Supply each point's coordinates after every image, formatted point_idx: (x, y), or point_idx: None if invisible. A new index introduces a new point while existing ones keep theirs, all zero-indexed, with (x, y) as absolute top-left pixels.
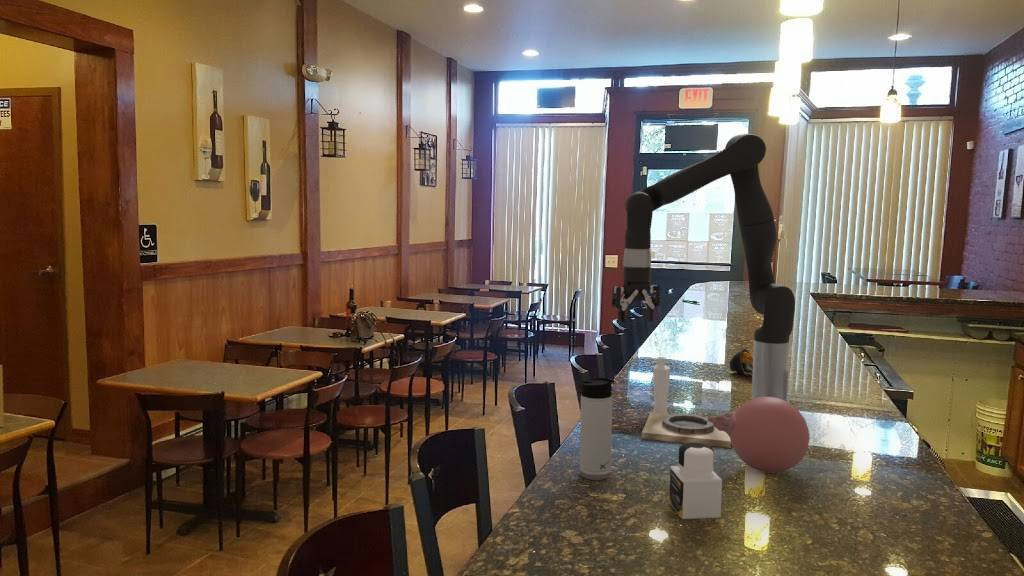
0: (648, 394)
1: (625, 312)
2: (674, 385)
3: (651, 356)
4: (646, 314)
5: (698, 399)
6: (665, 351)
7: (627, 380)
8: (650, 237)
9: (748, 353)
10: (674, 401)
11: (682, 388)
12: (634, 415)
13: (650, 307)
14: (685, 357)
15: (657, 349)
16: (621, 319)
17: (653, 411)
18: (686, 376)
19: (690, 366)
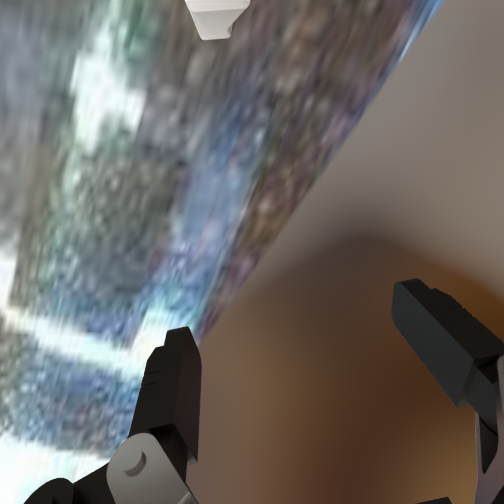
0: (183, 219)
1: (462, 344)
2: (91, 285)
3: (95, 461)
4: (195, 399)
5: (46, 149)
6: None
7: (196, 329)
8: None
9: None
10: (128, 141)
11: (75, 259)
12: (301, 8)
13: (163, 450)
14: (22, 459)
15: None
16: (444, 300)
17: (231, 28)
18: (43, 348)
19: (20, 410)
